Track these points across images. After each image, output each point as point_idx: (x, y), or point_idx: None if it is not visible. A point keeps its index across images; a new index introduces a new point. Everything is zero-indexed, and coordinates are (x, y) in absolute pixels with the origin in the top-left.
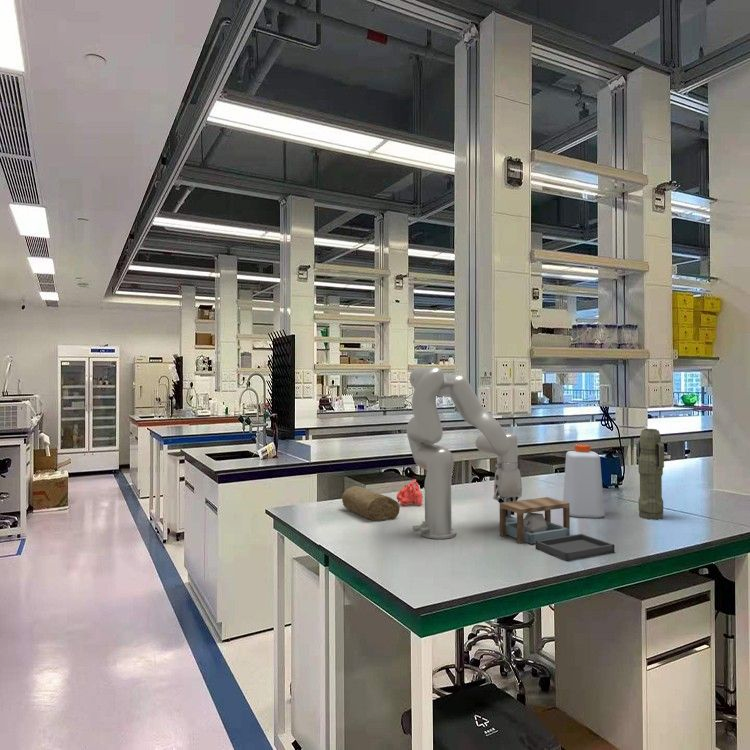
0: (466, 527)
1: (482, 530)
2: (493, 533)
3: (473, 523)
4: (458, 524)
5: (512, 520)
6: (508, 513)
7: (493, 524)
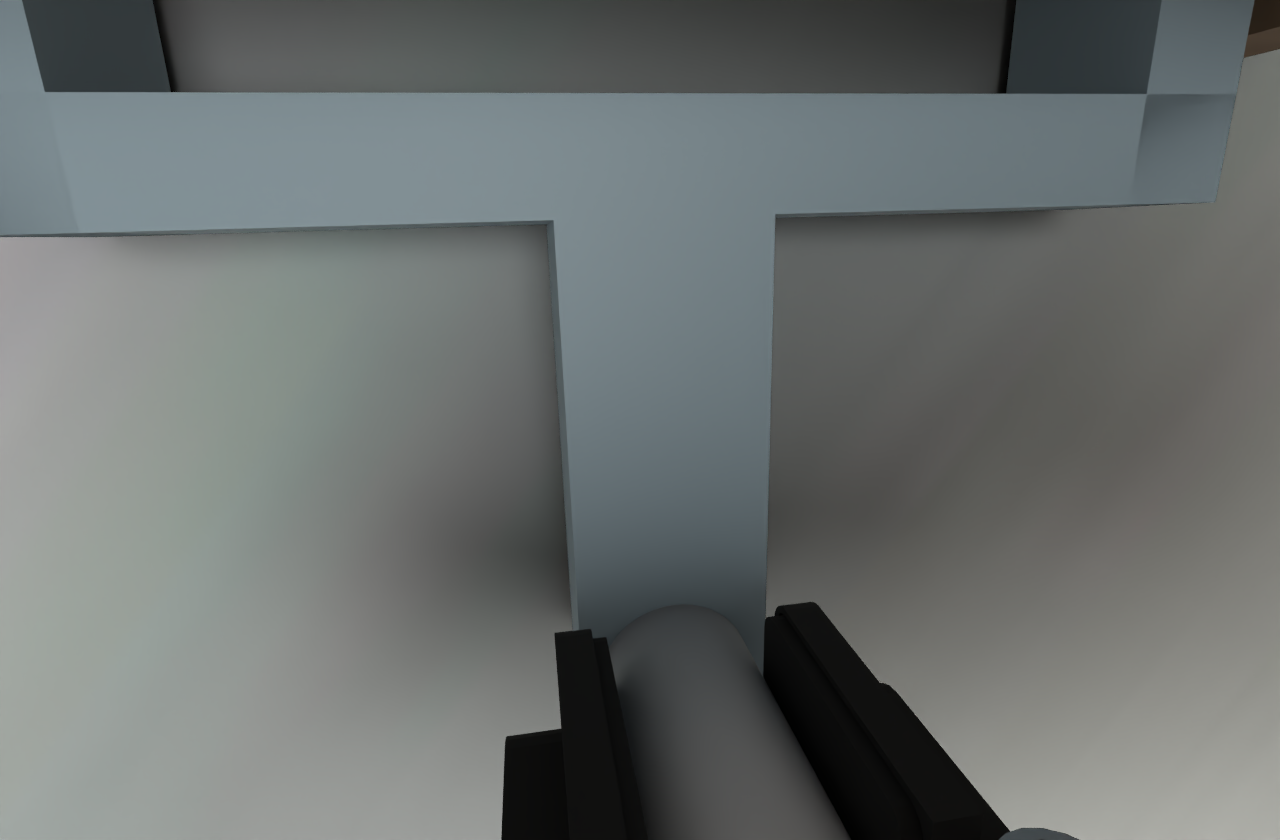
0: (1227, 665)
1: (1173, 458)
2: (1168, 237)
3: (1016, 810)
4: (1200, 813)
5: (768, 375)
6: (733, 664)
7: None
